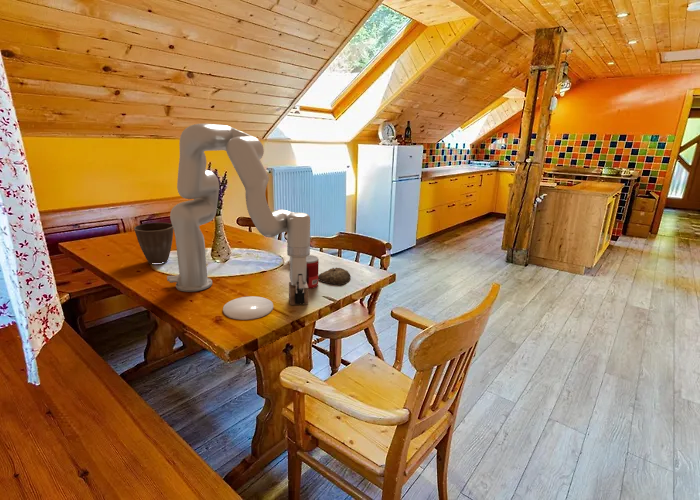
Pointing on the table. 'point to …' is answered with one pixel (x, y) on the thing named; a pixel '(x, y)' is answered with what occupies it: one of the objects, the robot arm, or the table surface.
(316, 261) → the canned food
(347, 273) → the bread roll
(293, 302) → the walnut block
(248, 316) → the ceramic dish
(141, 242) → the plant pot
